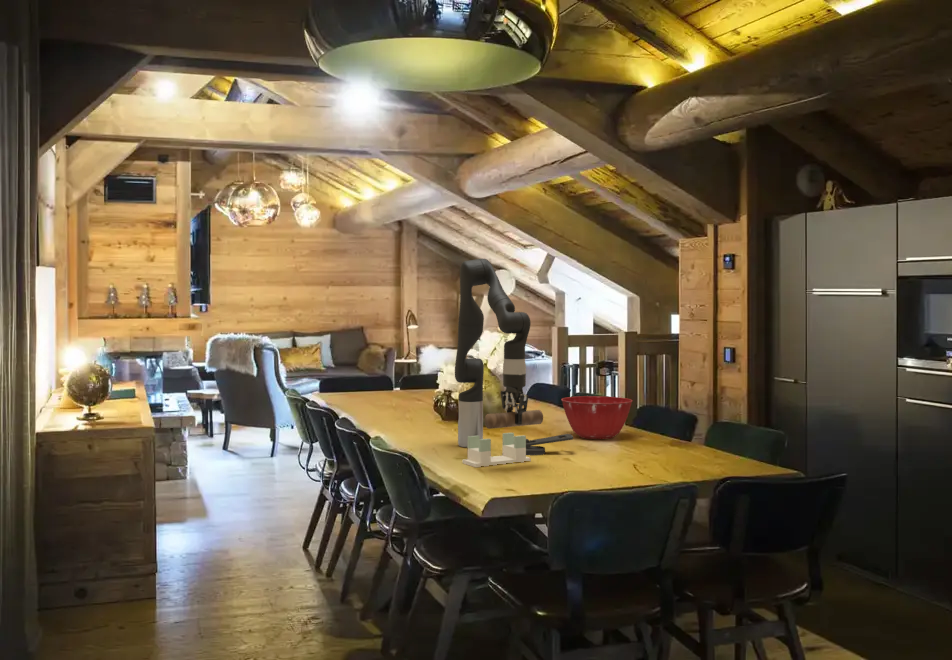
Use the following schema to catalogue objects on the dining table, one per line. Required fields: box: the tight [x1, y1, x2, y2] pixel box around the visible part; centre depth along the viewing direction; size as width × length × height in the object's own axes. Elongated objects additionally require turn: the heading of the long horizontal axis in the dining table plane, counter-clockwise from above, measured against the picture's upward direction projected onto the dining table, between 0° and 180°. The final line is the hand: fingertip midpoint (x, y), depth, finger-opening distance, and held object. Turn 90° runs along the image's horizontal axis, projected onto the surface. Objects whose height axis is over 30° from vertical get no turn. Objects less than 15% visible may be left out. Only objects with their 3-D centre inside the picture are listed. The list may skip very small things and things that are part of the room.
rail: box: [484, 409, 544, 430], centre depth 306 cm, size 20×5×5 cm, turn 120°
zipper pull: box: [526, 433, 574, 456], centre depth 334 cm, size 9×7×25 cm
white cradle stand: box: [461, 432, 532, 468], centre depth 316 cm, size 22×9×9 cm, turn 120°
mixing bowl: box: [561, 395, 634, 440], centre depth 372 cm, size 28×28×16 cm
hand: (514, 423), depth 306 cm, fingers closed on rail, 4 cm apart
